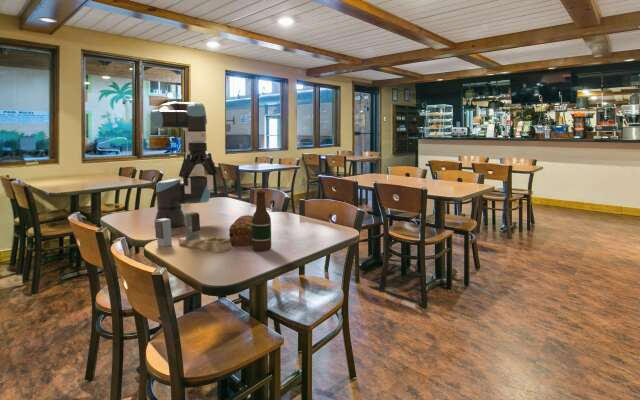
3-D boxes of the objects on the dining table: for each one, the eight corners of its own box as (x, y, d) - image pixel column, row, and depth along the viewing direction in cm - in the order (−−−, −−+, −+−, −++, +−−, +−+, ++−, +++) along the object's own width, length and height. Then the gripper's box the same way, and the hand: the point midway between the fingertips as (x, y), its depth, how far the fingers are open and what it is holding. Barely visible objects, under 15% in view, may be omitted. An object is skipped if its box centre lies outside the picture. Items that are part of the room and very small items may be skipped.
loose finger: (165, 243, 172) (164, 218, 170) (171, 244, 170) (170, 219, 168) (156, 245, 168) (154, 220, 166) (162, 247, 166) (160, 221, 164)
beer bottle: (261, 245, 169) (260, 189, 165) (275, 248, 164) (274, 190, 160) (248, 249, 162) (246, 191, 158) (262, 253, 158) (261, 193, 154)
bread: (238, 235, 187) (238, 214, 185) (261, 235, 186) (261, 214, 185) (228, 246, 168) (227, 223, 166) (253, 246, 168) (253, 223, 166)
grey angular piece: (178, 244, 170) (177, 213, 168) (191, 240, 176) (190, 210, 173) (219, 252, 158) (217, 219, 156) (231, 248, 164) (230, 216, 162)
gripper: (181, 142, 158) (184, 195, 161) (223, 141, 180) (225, 188, 183) (167, 142, 161) (170, 194, 164) (210, 141, 183) (212, 187, 186)
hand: (199, 191), depth 174 cm, fingers open, 13 cm apart
